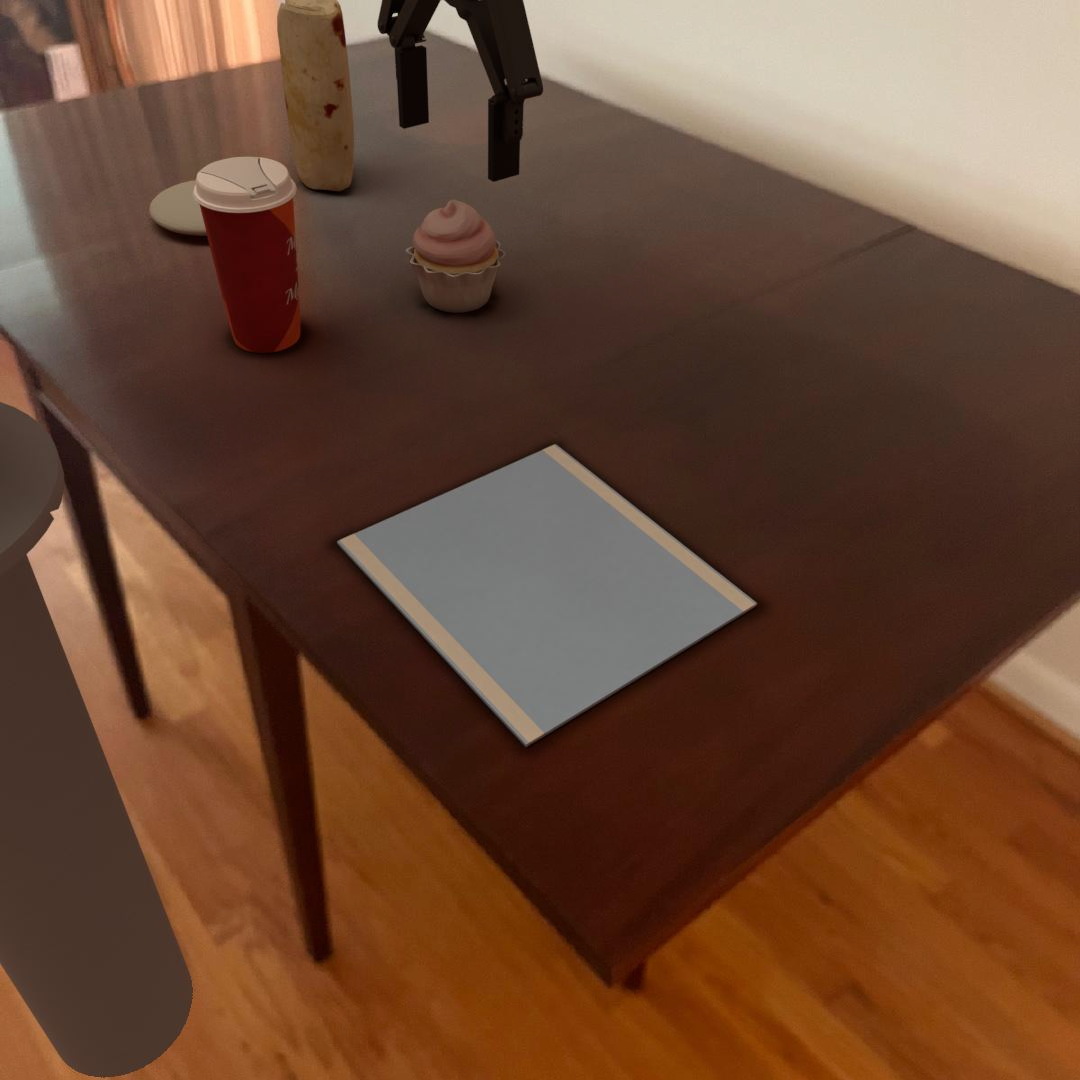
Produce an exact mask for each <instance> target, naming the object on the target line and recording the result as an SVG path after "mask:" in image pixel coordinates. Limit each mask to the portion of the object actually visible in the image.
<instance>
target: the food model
mask: <svg viewBox="0 0 1080 1080" xmlns="http://www.w3.org/2000/svg"><path fill="white" fill-rule="evenodd" d="M276 32H277V39H278V47H279V55H280V66H281V75H282V85H283V87H282V88H283V93H284V103H285V109H286V115H287V121H288V131H289V137H290V144H291V149H292V156H293V160H294V166H295V169H296V172H297V175H298V177H299V180H300V181H301V182H302V183H303V184H304V185H305V186H306V187H307V188H309V189H312V190H321V191H322V190H323V191H324V190H325V191H332V192H341V191H344V190H345V189H347V188H349V187H350V186H351V184H352V181H353V173H354V157H355V156H354V155H355V154H354V153H355V132H354V131H355V130H354V129H355V128H354V111H353V101H352V100H353V99H352V98H353V97H352V88H351V77H350V76H351V75H350V66H349V55H348V47H347V39H346V30H345V23H344V15H343V11H342V7H341V4H340V2H339V1H338V0H284V2H280V5H279V8H278V10H277V15H276Z"/></svg>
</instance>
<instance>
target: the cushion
mask: <svg viewBox="0 0 1080 1080" xmlns="http://www.w3.org/2000/svg"><path fill="white" fill-rule="evenodd" d="M195 185H196V179H193V180H188V181H184V182H180V183H177V184H175V185H172V186H170V187H168V188H166V189H164V190H162V191H161V192H159V193H158V194H157V195H156V196H155V197H153V199H152V201H151V202H150V204H149V208H148V209H149V210H148V212H149V216H150V218H151V219H152V220H153V221H154V223H156V224H157V225H159V226H160V227H162V228H164V229H165V230H168V231H170V232H173V233H177V234H182V235H187V236H188V235H189V236H199V237H204V236H205V237H206V236H207V233H206V228H205V224H204V220H203V216H202V212H201V208H200V204H199V203H198V202H197V201H196V200H195V199H194V197H193V190H194V187H195Z"/></svg>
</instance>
